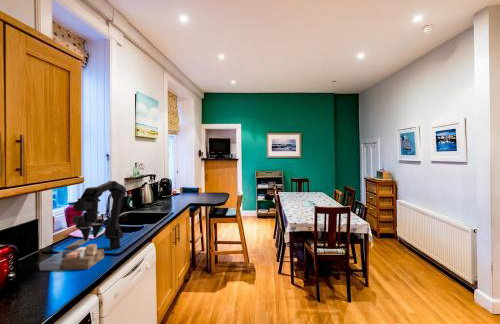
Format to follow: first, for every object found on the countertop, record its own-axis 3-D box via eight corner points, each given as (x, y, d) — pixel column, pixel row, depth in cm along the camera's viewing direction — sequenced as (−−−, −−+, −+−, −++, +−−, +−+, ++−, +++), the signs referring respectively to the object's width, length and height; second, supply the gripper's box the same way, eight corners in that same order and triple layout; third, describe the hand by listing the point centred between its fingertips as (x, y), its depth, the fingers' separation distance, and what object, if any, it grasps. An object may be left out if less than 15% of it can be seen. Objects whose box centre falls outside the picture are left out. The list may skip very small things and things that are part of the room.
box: (63, 257, 146) (62, 250, 146) (81, 257, 146) (80, 250, 145) (39, 270, 130) (39, 263, 130) (59, 270, 130) (59, 262, 129)
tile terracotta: (72, 255, 137) (72, 251, 136) (81, 254, 136) (80, 251, 136) (66, 258, 132) (66, 254, 132) (75, 258, 132) (74, 254, 132)
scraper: (93, 249, 143) (93, 241, 143) (101, 249, 143) (101, 241, 143) (78, 259, 131) (78, 249, 131) (87, 258, 131) (87, 249, 131)
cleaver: (65, 256, 148) (65, 253, 148) (47, 258, 146) (47, 254, 146) (91, 239, 177) (90, 236, 177) (76, 240, 176) (76, 237, 176)
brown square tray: (80, 257, 145) (80, 249, 144) (104, 257, 144) (103, 248, 144) (61, 269, 131) (61, 260, 130) (88, 269, 130) (87, 259, 130)
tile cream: (80, 250, 143) (80, 247, 142) (88, 250, 142) (88, 247, 142) (74, 253, 138) (74, 250, 138) (82, 253, 138) (82, 250, 138)
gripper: (85, 209, 146) (84, 236, 145) (65, 212, 128) (63, 243, 126) (105, 208, 148) (104, 236, 146) (88, 211, 129) (86, 242, 127)
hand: (90, 239), depth 136 cm, fingers open, 9 cm apart
